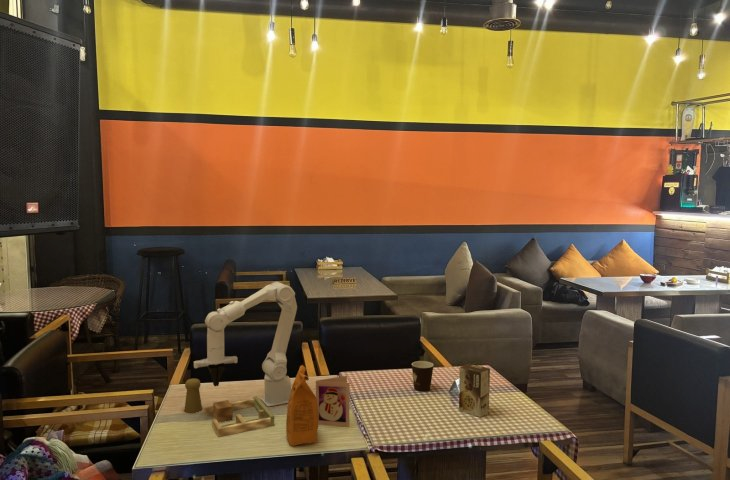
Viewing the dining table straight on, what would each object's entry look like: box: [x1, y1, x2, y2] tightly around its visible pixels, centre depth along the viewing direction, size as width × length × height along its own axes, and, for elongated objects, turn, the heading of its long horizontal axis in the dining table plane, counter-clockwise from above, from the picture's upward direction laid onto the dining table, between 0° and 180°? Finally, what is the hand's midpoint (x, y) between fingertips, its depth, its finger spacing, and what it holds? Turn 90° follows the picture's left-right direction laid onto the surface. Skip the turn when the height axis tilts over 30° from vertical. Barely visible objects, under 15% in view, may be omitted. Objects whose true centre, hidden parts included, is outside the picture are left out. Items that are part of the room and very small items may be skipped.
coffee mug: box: [411, 360, 434, 393], centre depth 213 cm, size 12×9×10 cm
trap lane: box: [204, 395, 275, 437], centre depth 182 cm, size 18×20×3 cm
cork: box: [184, 378, 203, 414], centre depth 189 cm, size 6×6×11 cm
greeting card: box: [315, 375, 351, 428], centre depth 180 cm, size 11×7×15 cm, turn 82°
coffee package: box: [285, 364, 319, 447], centre depth 168 cm, size 10×12×22 cm
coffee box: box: [458, 363, 491, 418], centre depth 190 cm, size 9×6×16 cm
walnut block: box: [212, 400, 234, 424], centre depth 182 cm, size 5×6×5 cm
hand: (215, 385), depth 186 cm, fingers closed
